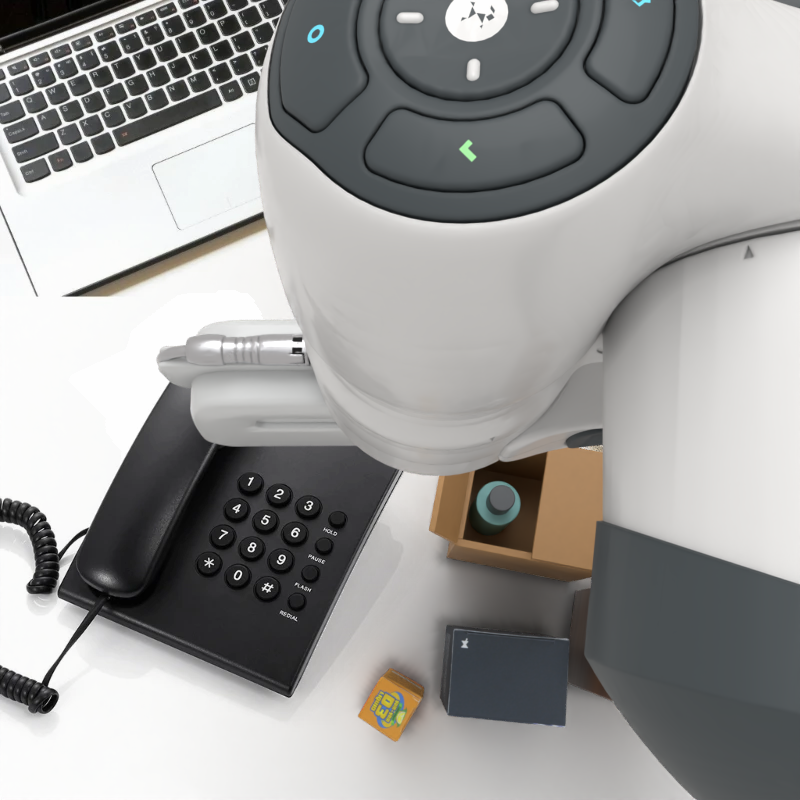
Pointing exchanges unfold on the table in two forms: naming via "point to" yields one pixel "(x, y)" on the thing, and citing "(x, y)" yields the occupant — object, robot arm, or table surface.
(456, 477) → the flap
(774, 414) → the robot arm
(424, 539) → the table surface
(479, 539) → the carton
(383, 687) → the supplement box
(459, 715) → the box
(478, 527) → the teal plastic cylinder
